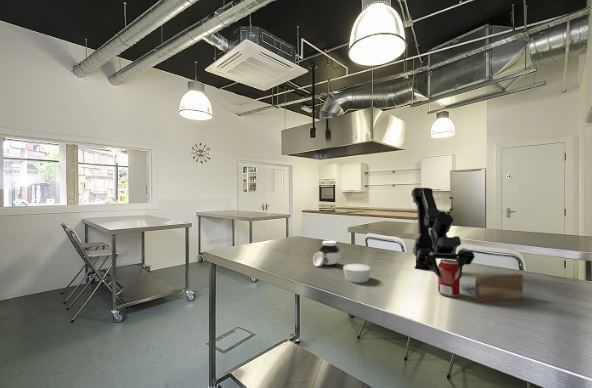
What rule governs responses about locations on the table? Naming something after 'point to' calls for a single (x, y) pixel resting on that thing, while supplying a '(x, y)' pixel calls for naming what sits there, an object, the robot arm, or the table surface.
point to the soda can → (449, 278)
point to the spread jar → (327, 255)
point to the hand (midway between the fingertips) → (449, 277)
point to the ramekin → (357, 272)
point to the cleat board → (496, 287)
